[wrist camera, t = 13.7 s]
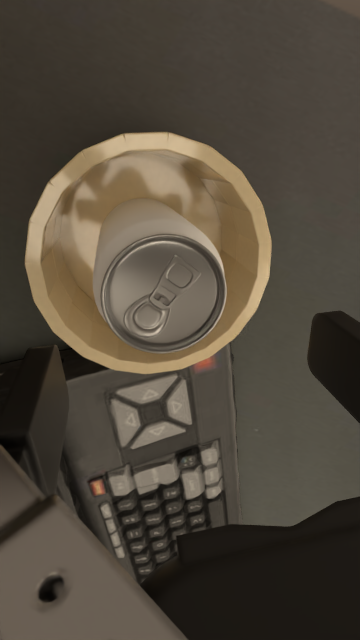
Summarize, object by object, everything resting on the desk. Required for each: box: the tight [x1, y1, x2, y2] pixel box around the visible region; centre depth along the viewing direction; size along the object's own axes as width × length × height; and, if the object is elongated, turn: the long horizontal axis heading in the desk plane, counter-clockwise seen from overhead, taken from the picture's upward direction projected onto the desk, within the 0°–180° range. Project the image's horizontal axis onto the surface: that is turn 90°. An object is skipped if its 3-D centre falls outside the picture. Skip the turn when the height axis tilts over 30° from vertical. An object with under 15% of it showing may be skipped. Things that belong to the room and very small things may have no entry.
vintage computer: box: [0, 341, 243, 585], centre depth 34 cm, size 43×29×8 cm
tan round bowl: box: [25, 132, 272, 374], centre depth 23 cm, size 14×14×8 cm
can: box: [93, 198, 227, 354], centre depth 20 cm, size 6×6×12 cm
